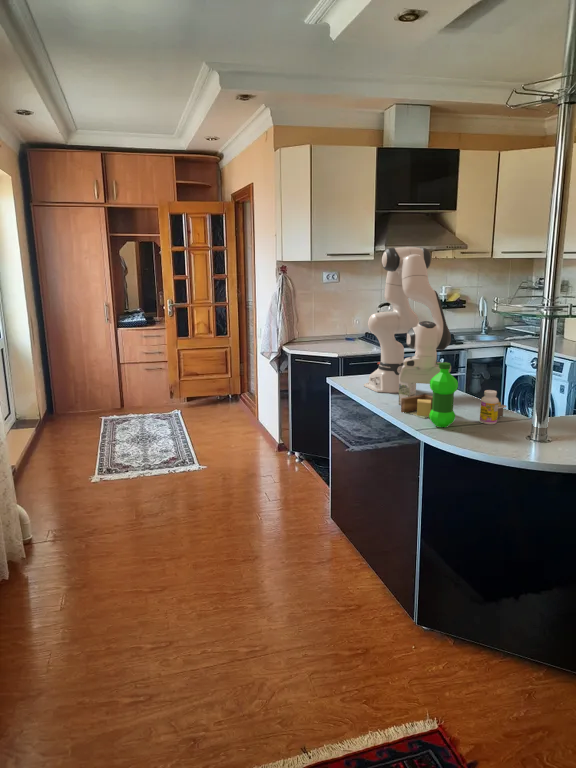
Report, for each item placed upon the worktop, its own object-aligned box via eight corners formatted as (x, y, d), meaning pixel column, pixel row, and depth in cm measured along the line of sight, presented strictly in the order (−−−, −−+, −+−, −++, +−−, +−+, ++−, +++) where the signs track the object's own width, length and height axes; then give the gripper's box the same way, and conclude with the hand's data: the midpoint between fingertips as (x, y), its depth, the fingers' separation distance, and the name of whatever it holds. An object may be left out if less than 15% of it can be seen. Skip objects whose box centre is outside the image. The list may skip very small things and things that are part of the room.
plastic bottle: (444, 431, 214) (447, 367, 208) (422, 424, 223) (425, 363, 217) (460, 426, 220) (464, 363, 214) (439, 420, 228) (442, 359, 222)
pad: (410, 413, 237) (410, 413, 237) (423, 410, 241) (423, 410, 241) (423, 418, 231) (423, 417, 231) (437, 415, 235) (437, 414, 235)
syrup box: (416, 404, 252) (417, 373, 248) (409, 407, 247) (410, 375, 244) (404, 402, 255) (406, 371, 252) (397, 405, 251) (398, 373, 248)
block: (417, 411, 239) (417, 399, 238) (430, 412, 238) (430, 399, 237) (416, 415, 234) (417, 402, 233) (430, 415, 233) (430, 403, 231)
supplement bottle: (476, 422, 225) (478, 391, 222) (485, 419, 229) (487, 388, 226) (491, 425, 220) (493, 394, 217) (500, 422, 224) (502, 391, 221)
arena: (400, 411, 241) (401, 398, 239) (423, 407, 247) (424, 393, 246) (427, 420, 228) (427, 406, 226) (450, 415, 234) (451, 401, 233)
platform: (466, 416, 234) (466, 401, 233) (500, 411, 240) (502, 396, 239) (485, 424, 223) (486, 408, 222) (521, 419, 229) (522, 403, 228)
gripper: (451, 360, 231) (449, 392, 235) (400, 358, 236) (399, 390, 240) (451, 364, 226) (449, 397, 229) (400, 361, 230) (398, 394, 234)
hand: (423, 393), depth 235 cm, fingers open, 8 cm apart
